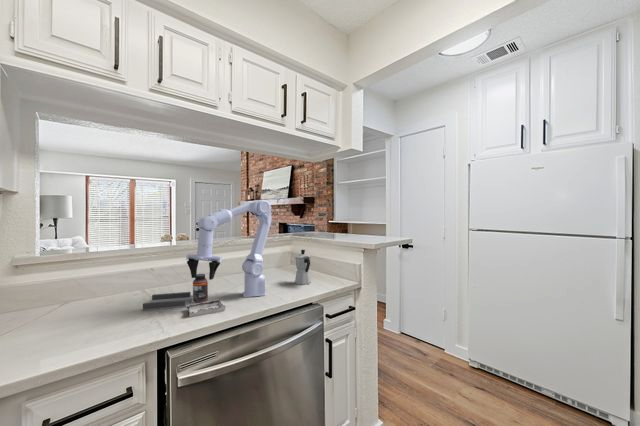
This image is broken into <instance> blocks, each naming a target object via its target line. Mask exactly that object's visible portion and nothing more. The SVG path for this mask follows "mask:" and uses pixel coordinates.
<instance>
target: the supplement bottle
mask: <svg viewBox="0 0 640 426" xmlns="http://www.w3.org/2000/svg"><path fill="white" fill-rule="evenodd" d="M208 287H209V283H208V278H206V274H205V273H197V274H196V277H195V278H194V280H193V281H192V296H193V298H192V301H193V303H196V304H197V303H204V302H207V300H208V299H209V288H208Z"/></svg>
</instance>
